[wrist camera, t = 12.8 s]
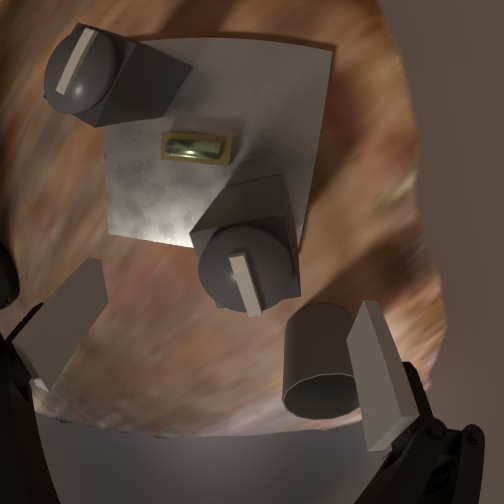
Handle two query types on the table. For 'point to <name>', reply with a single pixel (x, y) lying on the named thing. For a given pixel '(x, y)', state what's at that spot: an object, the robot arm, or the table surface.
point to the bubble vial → (197, 147)
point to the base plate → (219, 122)
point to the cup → (319, 363)
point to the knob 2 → (249, 246)
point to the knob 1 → (110, 78)
